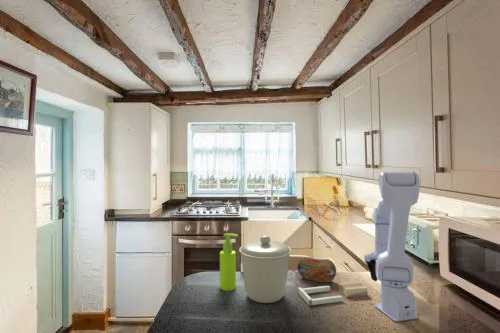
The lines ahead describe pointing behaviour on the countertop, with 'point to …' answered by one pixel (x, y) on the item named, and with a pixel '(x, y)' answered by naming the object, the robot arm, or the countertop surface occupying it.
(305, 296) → the bracket
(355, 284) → the tan rectangular block
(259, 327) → the countertop surface
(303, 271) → the tin
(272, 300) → the canister
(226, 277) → the soap dispenser
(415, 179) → the robot arm
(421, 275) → the countertop surface
